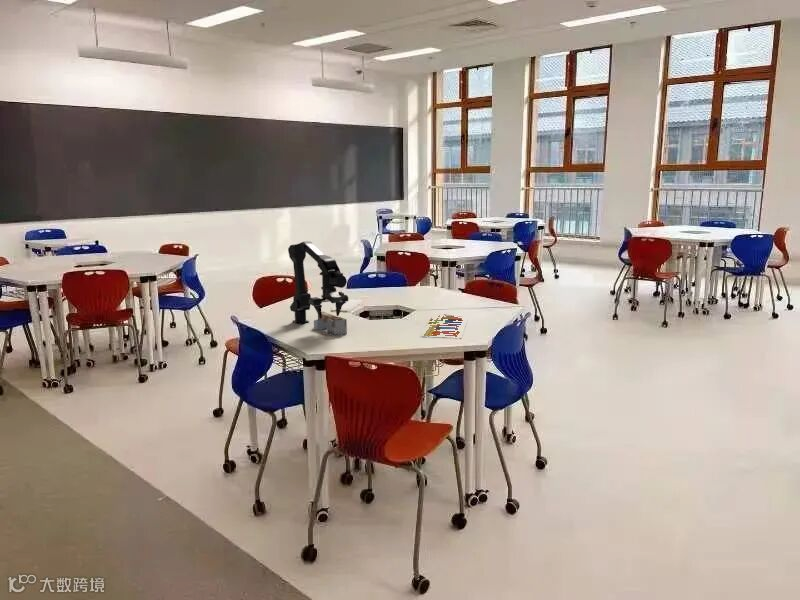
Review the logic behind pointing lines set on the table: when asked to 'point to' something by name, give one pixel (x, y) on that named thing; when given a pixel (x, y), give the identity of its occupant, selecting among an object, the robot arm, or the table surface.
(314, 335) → the table surface
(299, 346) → the table surface
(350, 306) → the baseboard
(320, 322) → the support post
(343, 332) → the cup bracket
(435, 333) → the multicolored flat board
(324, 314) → the rail
